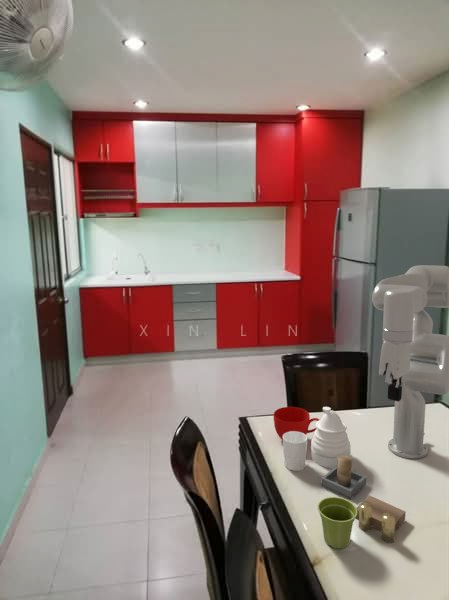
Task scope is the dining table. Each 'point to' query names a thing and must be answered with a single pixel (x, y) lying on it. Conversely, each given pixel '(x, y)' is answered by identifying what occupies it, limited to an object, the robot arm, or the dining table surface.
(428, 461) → the dining table surface
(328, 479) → the tray
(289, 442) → the white cup
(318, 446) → the honey pot
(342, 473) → the dowel
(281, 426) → the ceramic cup
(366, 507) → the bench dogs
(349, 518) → the plant pot
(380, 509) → the brown wooden brick
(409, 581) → the dining table surface
